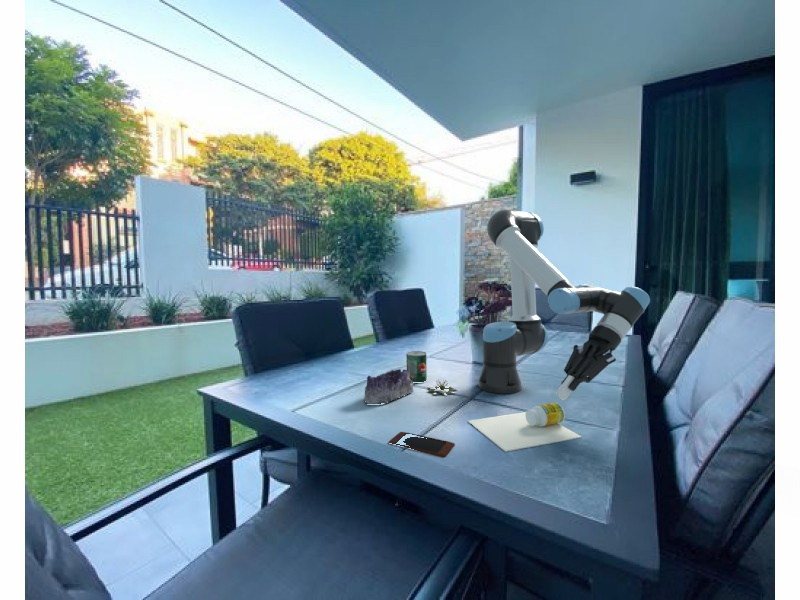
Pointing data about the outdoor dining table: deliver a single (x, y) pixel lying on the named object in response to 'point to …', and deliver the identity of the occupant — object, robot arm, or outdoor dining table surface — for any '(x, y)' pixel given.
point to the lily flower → (442, 387)
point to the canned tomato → (417, 366)
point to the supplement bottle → (545, 414)
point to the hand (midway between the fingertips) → (560, 397)
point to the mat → (520, 432)
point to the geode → (388, 387)
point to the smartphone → (425, 444)
